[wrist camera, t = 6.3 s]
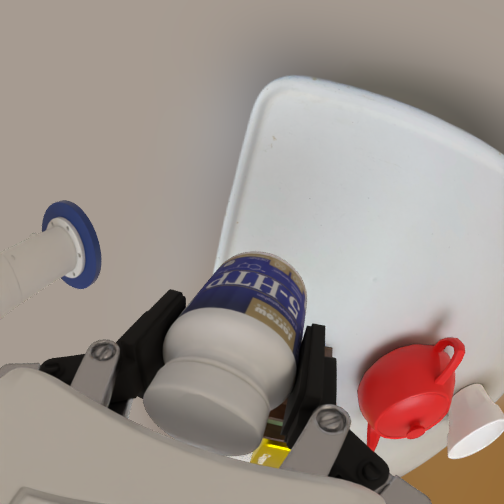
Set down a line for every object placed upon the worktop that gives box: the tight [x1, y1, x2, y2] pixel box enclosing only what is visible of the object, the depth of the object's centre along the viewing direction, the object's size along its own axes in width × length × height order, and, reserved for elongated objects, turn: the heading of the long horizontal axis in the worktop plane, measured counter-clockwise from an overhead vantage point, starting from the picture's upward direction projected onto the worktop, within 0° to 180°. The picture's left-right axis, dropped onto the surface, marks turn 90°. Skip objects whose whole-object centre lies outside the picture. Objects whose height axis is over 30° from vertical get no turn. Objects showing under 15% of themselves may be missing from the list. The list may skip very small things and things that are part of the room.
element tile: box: [250, 438, 291, 469], centre depth 46 cm, size 15×15×5 cm
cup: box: [447, 384, 504, 459], centre depth 29 cm, size 12×12×11 cm
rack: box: [263, 343, 332, 443], centre depth 39 cm, size 8×23×4 cm, turn 172°
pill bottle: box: [143, 251, 307, 456], centre depth 11 cm, size 5×5×9 cm
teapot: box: [357, 337, 465, 451], centre depth 29 cm, size 25×16×12 cm, turn 165°
